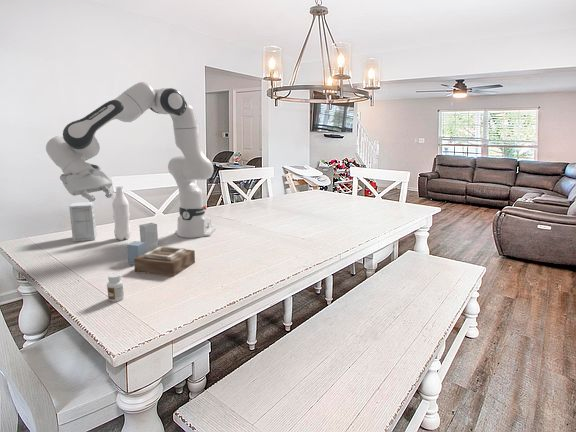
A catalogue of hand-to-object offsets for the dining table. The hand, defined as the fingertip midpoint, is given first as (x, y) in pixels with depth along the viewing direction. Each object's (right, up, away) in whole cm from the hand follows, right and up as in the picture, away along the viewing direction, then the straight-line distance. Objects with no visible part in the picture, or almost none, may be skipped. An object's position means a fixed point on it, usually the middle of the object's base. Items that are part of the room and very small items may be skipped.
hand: (102, 198), depth 150 cm
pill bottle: (+20, -33, -32) cm, 50 cm away
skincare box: (+13, -22, +15) cm, 30 cm away
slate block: (+13, -25, +2) cm, 28 cm away
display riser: (+26, -26, -3) cm, 37 cm away
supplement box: (-24, -18, +32) cm, 43 cm away
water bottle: (-6, -18, +33) cm, 38 cm away
